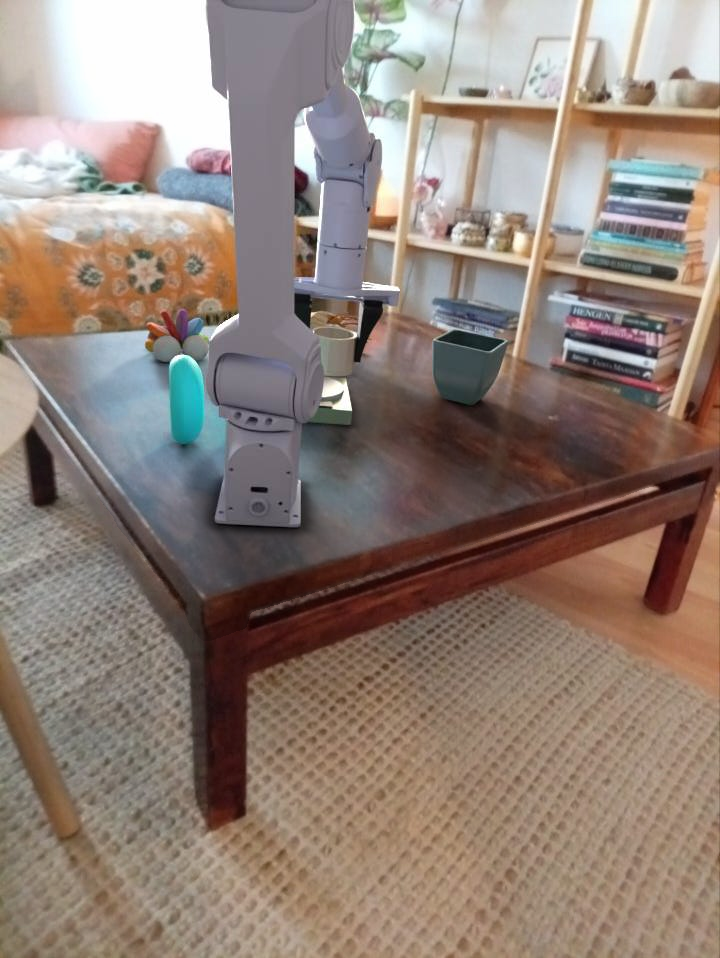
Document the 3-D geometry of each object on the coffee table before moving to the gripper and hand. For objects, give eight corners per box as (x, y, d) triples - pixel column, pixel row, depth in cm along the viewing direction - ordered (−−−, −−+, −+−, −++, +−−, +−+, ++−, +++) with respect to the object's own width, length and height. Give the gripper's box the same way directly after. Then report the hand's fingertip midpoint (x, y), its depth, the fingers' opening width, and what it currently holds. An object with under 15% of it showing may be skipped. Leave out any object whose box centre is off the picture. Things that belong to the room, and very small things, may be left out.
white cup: (354, 378, 86) (358, 341, 84) (308, 374, 85) (310, 337, 83) (352, 363, 91) (355, 328, 89) (308, 360, 90) (310, 325, 88)
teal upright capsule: (263, 457, 80) (267, 372, 75) (172, 458, 77) (170, 371, 72) (252, 423, 88) (255, 345, 84) (169, 423, 85) (168, 343, 81)
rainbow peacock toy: (140, 348, 110) (139, 302, 107) (202, 347, 114) (202, 302, 111) (150, 365, 104) (149, 316, 100) (215, 363, 108) (216, 316, 104)
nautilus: (342, 344, 126) (405, 372, 118) (248, 353, 111) (312, 386, 103) (350, 300, 123) (415, 326, 114) (254, 303, 108) (321, 333, 99)
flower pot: (422, 398, 103) (431, 338, 99) (444, 384, 110) (453, 327, 106) (479, 413, 100) (491, 352, 96) (498, 397, 107) (509, 340, 103)
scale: (350, 425, 91) (352, 406, 90) (265, 419, 90) (265, 400, 89) (344, 391, 103) (346, 373, 101) (269, 385, 101) (269, 368, 100)
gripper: (399, 245, 86) (386, 353, 92) (280, 233, 84) (274, 344, 90) (407, 255, 80) (392, 370, 86) (278, 243, 78) (272, 361, 84)
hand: (332, 358), depth 87 cm, fingers closed on white cup, 6 cm apart
